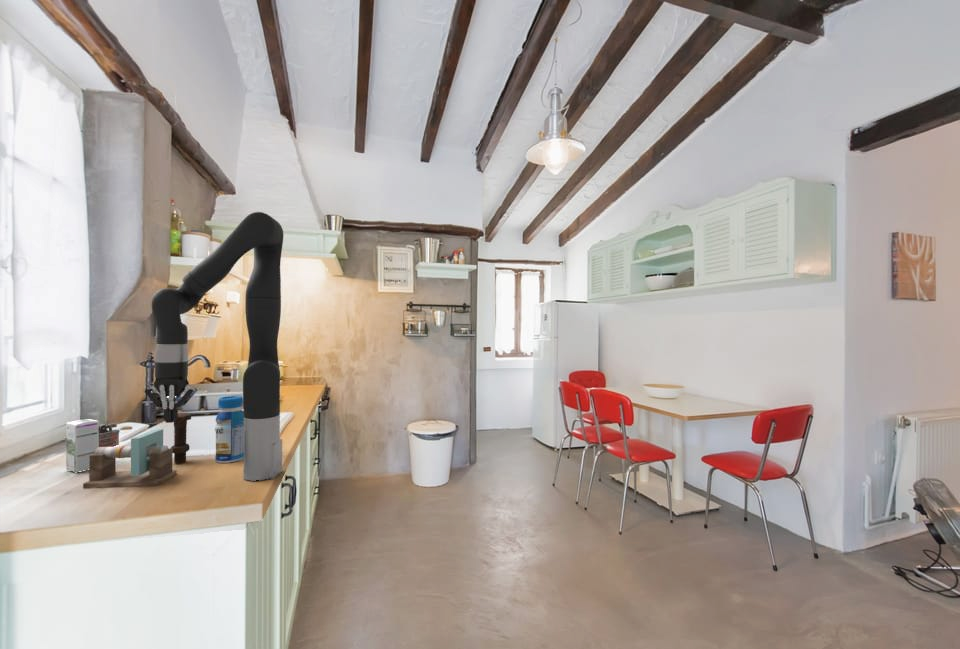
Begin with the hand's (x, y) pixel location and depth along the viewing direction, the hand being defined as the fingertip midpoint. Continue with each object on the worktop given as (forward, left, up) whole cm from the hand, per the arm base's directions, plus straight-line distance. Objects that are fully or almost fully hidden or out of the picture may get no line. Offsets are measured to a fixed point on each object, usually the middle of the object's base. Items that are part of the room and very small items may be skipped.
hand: (170, 422), depth 118 cm
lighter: (+36, -26, -16) cm, 47 cm away
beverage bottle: (-8, -17, -16) cm, 25 cm away
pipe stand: (+10, 0, -16) cm, 19 cm away
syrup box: (+31, -11, -16) cm, 37 cm away
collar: (+6, 0, -13) cm, 14 cm away
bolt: (+6, -15, -16) cm, 23 cm away
